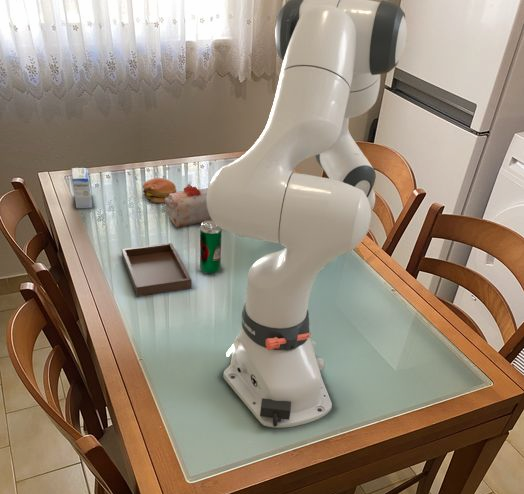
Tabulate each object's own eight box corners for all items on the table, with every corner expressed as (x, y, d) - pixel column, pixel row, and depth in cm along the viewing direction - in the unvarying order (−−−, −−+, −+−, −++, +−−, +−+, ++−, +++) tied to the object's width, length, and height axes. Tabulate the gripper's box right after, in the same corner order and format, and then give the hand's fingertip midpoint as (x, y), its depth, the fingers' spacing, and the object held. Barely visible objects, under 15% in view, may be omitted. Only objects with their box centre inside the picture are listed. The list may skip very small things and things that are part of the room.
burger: (178, 191, 163) (178, 176, 160) (173, 204, 156) (173, 189, 153) (146, 189, 163) (145, 174, 160) (140, 202, 156) (138, 186, 153)
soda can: (217, 276, 128) (218, 231, 120) (197, 272, 129) (197, 227, 121) (222, 265, 132) (224, 221, 124) (203, 262, 132) (203, 218, 125)
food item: (173, 230, 144) (172, 196, 138) (164, 217, 149) (162, 184, 143) (220, 223, 149) (221, 189, 143) (209, 211, 155) (209, 178, 148)
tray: (191, 288, 123) (191, 279, 122) (137, 296, 119) (136, 287, 118) (172, 251, 135) (171, 242, 134) (122, 257, 131) (121, 249, 130)
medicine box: (75, 197, 155) (70, 167, 149) (91, 196, 156) (87, 167, 151) (76, 208, 149) (71, 179, 144) (92, 207, 151) (88, 178, 145)
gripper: (296, 177, 135) (245, 182, 131) (333, 213, 121) (277, 220, 117) (293, 201, 139) (244, 206, 135) (328, 238, 125) (275, 245, 121)
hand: (259, 213), depth 126 cm, fingers open, 8 cm apart
